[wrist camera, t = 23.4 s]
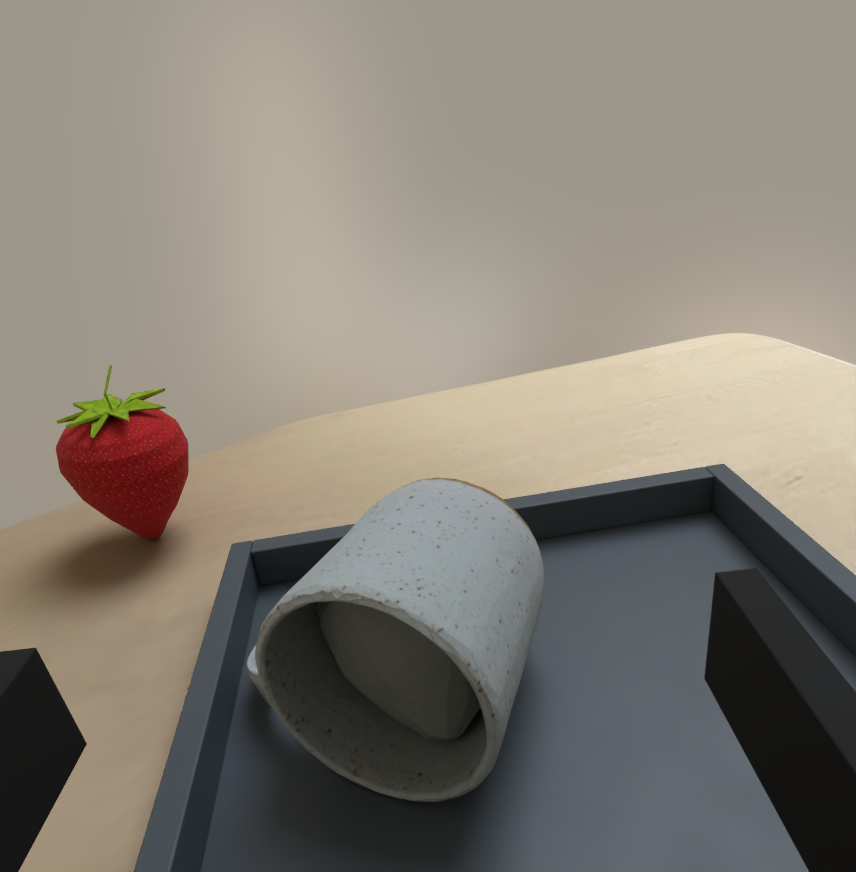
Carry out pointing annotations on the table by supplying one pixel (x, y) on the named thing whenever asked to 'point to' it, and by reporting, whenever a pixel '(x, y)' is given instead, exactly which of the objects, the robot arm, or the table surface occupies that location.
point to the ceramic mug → (408, 641)
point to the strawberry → (125, 460)
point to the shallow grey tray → (524, 708)
